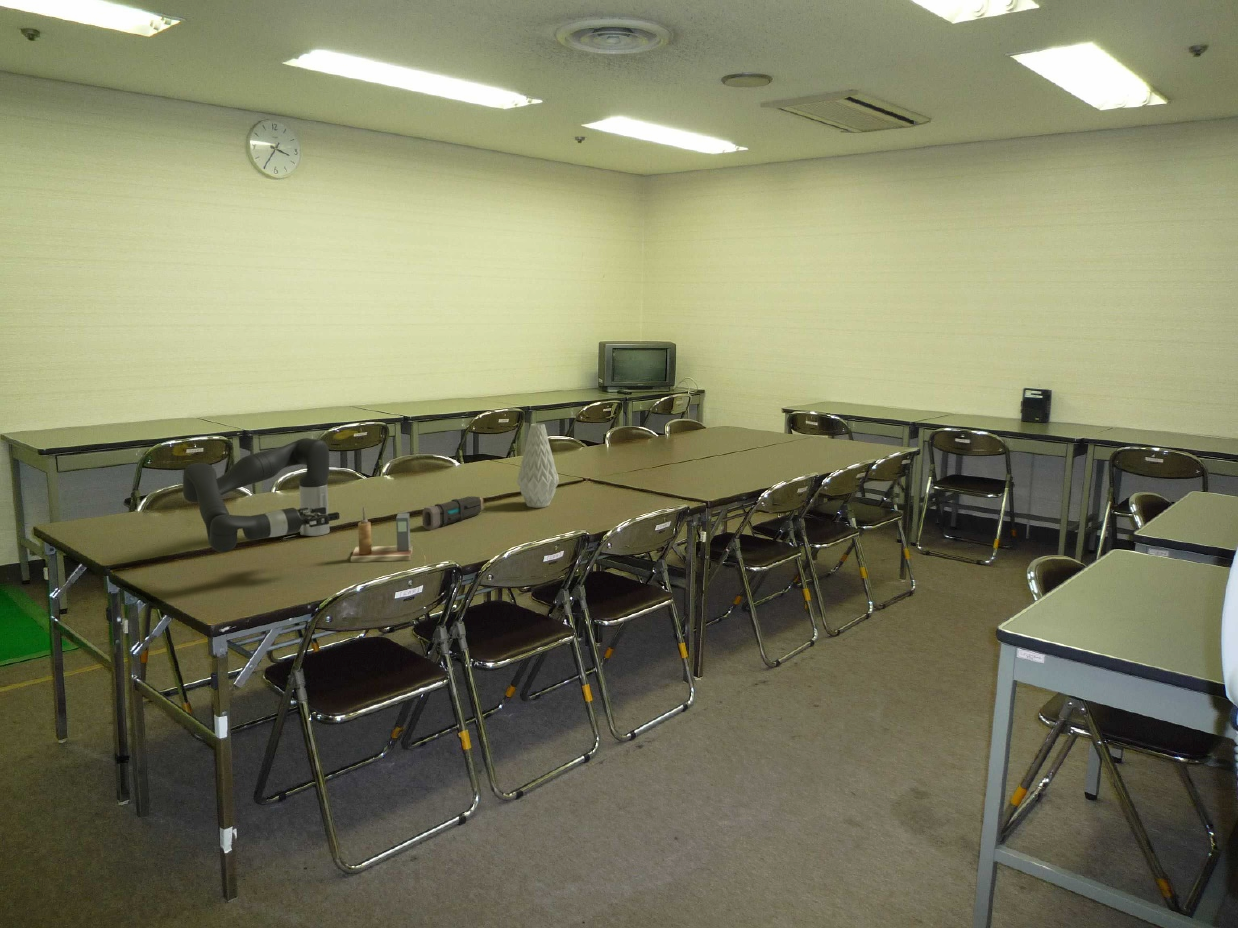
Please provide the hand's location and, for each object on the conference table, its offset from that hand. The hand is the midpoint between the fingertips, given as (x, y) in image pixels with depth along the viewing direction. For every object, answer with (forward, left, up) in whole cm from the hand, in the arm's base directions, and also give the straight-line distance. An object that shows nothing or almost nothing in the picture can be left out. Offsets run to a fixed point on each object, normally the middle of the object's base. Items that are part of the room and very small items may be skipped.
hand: (332, 512), depth 273 cm
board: (+14, +8, -16) cm, 23 cm away
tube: (+35, +51, -17) cm, 65 cm away
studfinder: (+20, +11, -15) cm, 27 cm away
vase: (+68, +74, -17) cm, 102 cm away
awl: (+9, +6, -15) cm, 18 cm away
